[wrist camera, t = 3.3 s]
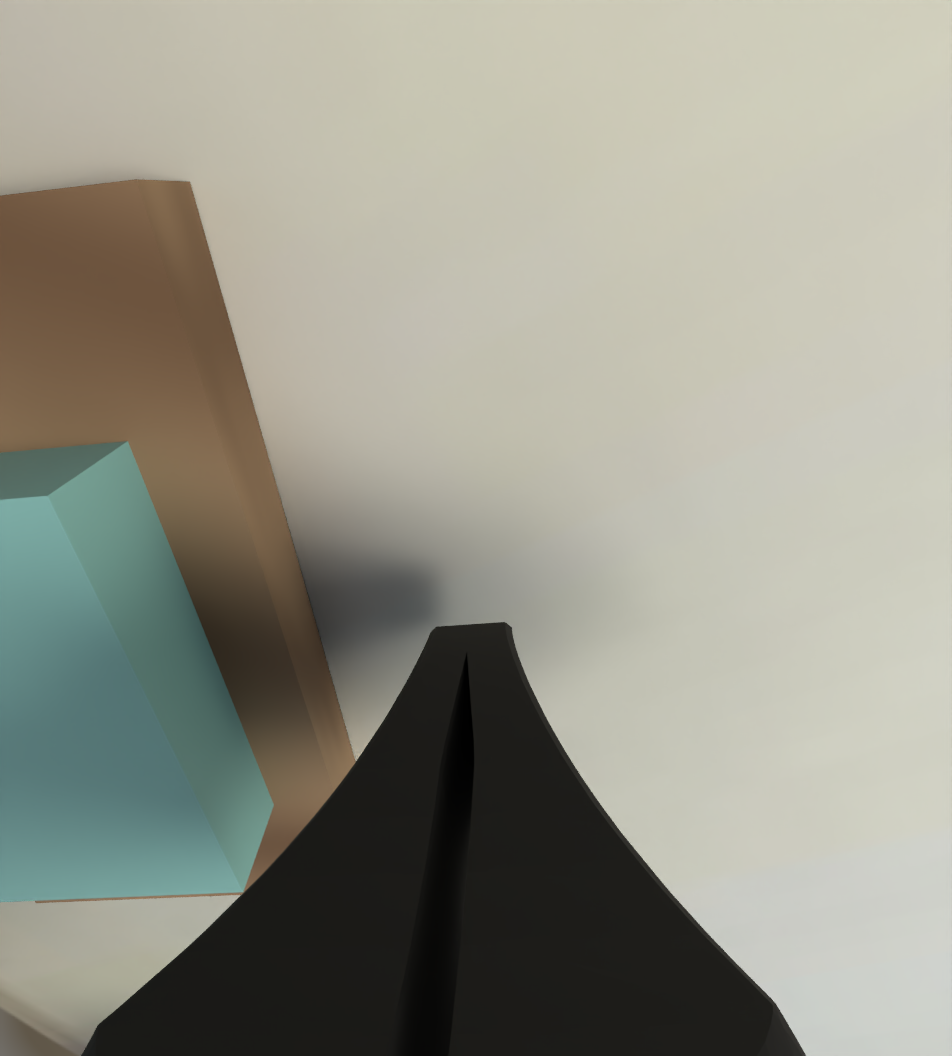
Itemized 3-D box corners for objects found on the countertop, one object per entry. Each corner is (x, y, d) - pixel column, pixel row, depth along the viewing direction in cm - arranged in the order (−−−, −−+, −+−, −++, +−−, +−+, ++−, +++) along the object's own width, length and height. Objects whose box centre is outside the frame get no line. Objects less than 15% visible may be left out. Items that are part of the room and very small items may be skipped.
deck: (375, 832, 17) (365, 889, 16) (72, 846, 18) (36, 902, 16) (189, 182, 9) (136, 179, 8) (-341, 244, 10) (-480, 252, 8)
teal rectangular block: (274, 804, 14) (243, 892, 12) (29, 816, 14) (-35, 903, 13) (127, 440, 10) (47, 496, 8) (-218, 472, 10) (-366, 531, 8)
